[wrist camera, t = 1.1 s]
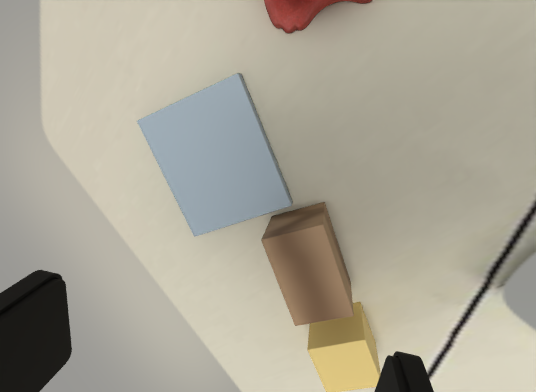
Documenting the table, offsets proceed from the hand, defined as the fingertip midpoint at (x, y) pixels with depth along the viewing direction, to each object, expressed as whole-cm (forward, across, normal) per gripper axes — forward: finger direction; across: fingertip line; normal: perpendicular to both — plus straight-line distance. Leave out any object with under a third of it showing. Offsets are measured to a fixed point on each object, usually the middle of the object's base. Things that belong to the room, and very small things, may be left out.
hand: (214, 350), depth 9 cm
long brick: (+26, -4, +10) cm, 28 cm away
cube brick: (+26, -9, +19) cm, 33 cm away
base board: (+26, +8, +1) cm, 27 cm away
